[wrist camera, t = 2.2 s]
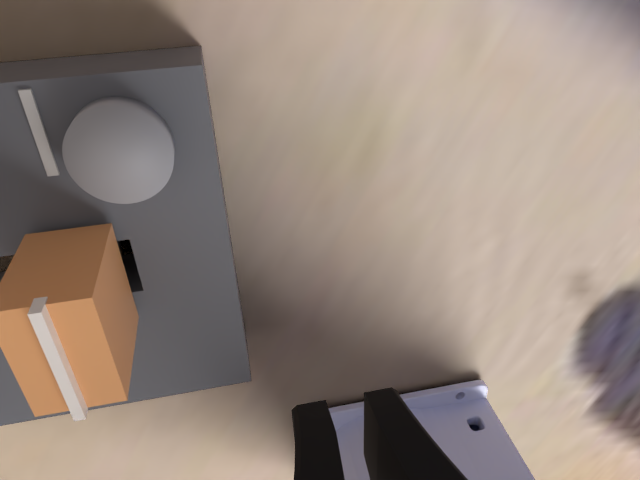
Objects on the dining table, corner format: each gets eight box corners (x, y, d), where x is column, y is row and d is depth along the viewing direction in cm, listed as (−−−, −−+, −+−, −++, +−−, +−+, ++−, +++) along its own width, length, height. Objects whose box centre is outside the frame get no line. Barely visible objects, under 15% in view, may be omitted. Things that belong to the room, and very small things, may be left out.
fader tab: (120, 186, 18) (88, 305, 12) (144, 276, 20) (126, 411, 14) (44, 195, 17) (-23, 322, 12) (76, 286, 19) (32, 429, 14)
